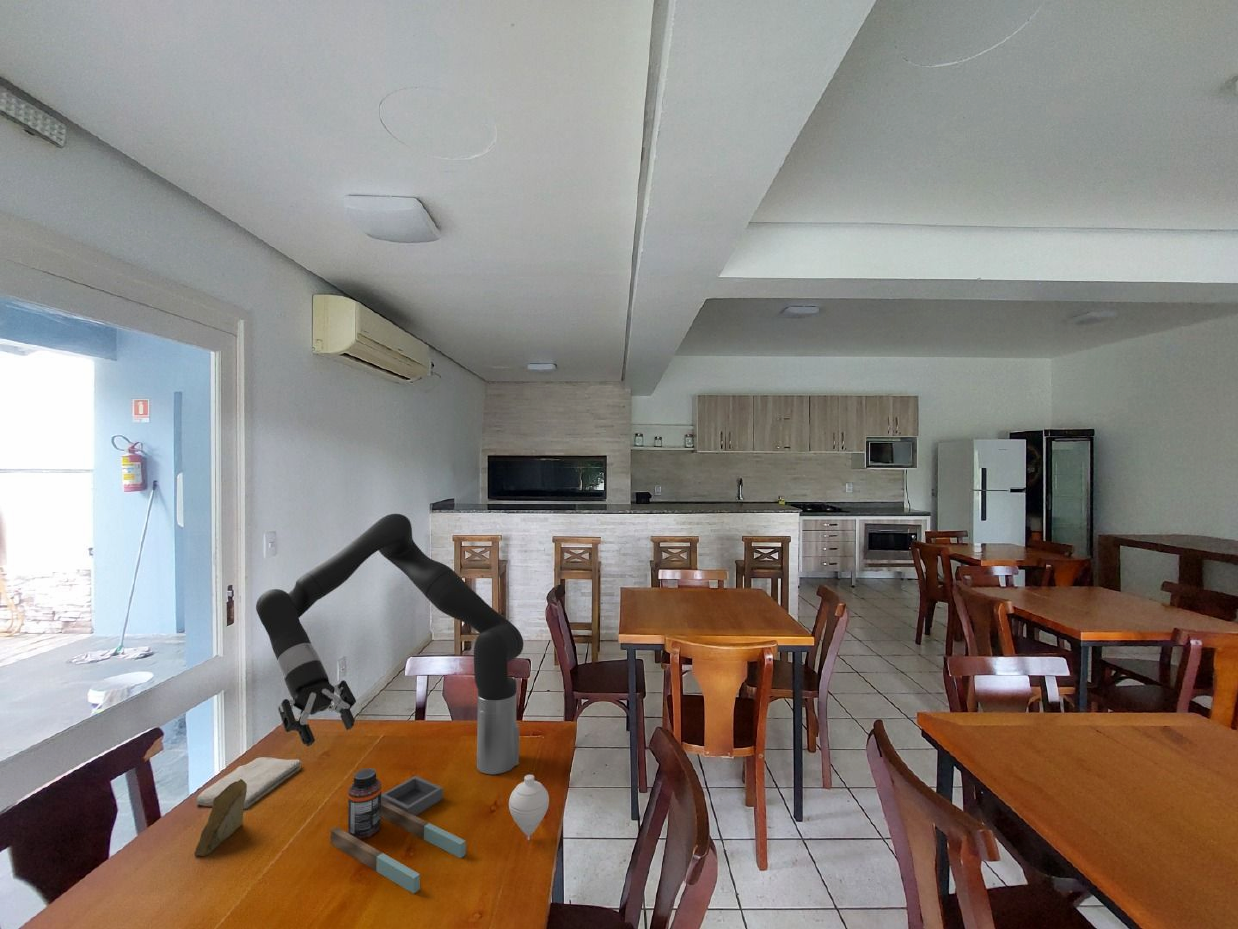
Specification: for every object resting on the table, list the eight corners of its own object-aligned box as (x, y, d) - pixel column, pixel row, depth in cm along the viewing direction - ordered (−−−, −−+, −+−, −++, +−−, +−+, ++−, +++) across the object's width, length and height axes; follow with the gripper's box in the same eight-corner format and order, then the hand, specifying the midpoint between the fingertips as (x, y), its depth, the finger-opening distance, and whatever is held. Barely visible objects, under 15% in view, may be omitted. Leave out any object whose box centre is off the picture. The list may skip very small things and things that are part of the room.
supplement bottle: (354, 822, 111) (355, 765, 112) (385, 821, 112) (386, 764, 112) (342, 842, 106) (343, 781, 106) (374, 840, 106) (375, 780, 106)
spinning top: (555, 832, 109) (556, 770, 109) (537, 857, 102) (537, 791, 102) (520, 824, 111) (521, 763, 112) (500, 848, 104) (501, 783, 104)
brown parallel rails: (330, 843, 105) (330, 830, 105) (383, 813, 115) (383, 800, 115) (376, 871, 98) (376, 857, 98) (429, 836, 107) (429, 823, 107)
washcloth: (304, 768, 133) (304, 755, 133) (246, 813, 115) (246, 798, 115) (259, 765, 134) (259, 752, 134) (194, 809, 116) (194, 794, 117)
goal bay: (376, 871, 98) (376, 857, 98) (428, 836, 107) (429, 823, 107) (413, 894, 92) (413, 878, 92) (465, 854, 102) (465, 841, 102)
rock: (208, 852, 99) (264, 814, 108) (186, 809, 100) (243, 775, 109) (185, 871, 103) (241, 833, 112) (165, 829, 105) (222, 795, 114)
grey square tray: (379, 807, 117) (379, 795, 117) (415, 787, 124) (415, 776, 124) (407, 821, 112) (407, 808, 112) (442, 799, 120) (442, 787, 120)
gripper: (326, 670, 129) (355, 732, 123) (261, 690, 117) (289, 759, 111) (340, 651, 126) (370, 713, 120) (275, 669, 114) (304, 739, 108)
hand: (331, 735), depth 115 cm, fingers open, 8 cm apart
